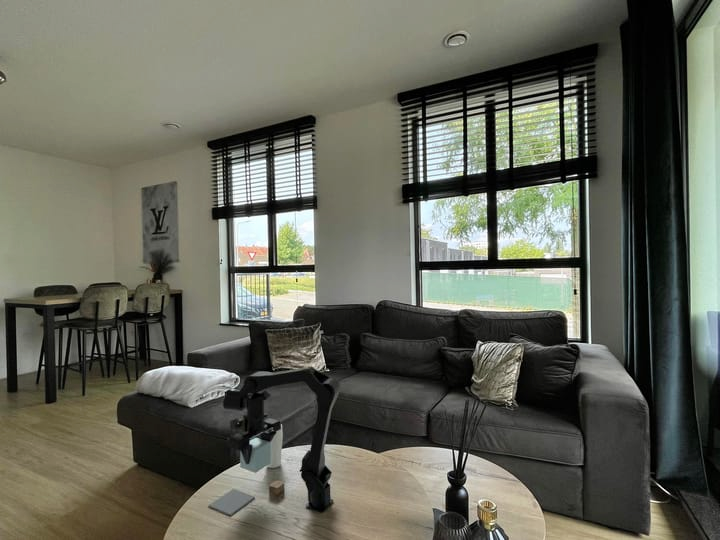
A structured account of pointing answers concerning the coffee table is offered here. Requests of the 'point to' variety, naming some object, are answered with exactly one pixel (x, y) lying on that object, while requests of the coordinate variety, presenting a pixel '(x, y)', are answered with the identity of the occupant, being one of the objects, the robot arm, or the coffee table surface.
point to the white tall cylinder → (276, 449)
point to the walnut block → (276, 489)
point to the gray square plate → (231, 502)
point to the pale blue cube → (257, 455)
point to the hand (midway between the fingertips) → (255, 459)
